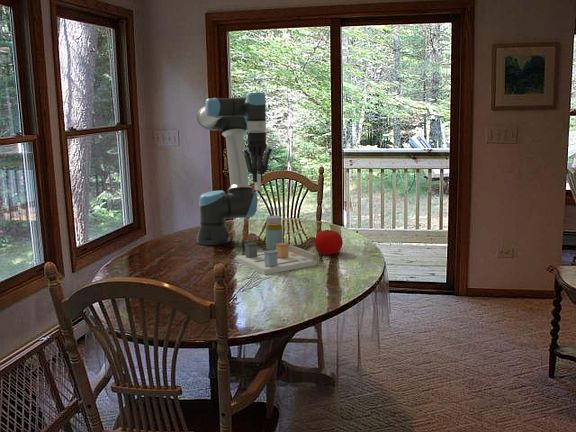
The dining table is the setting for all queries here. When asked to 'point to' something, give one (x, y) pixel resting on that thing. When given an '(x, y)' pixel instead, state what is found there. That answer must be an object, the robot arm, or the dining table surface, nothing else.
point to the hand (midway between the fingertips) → (257, 189)
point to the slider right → (270, 257)
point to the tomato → (328, 242)
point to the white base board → (280, 261)
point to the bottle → (273, 232)
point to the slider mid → (282, 250)
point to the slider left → (250, 249)
